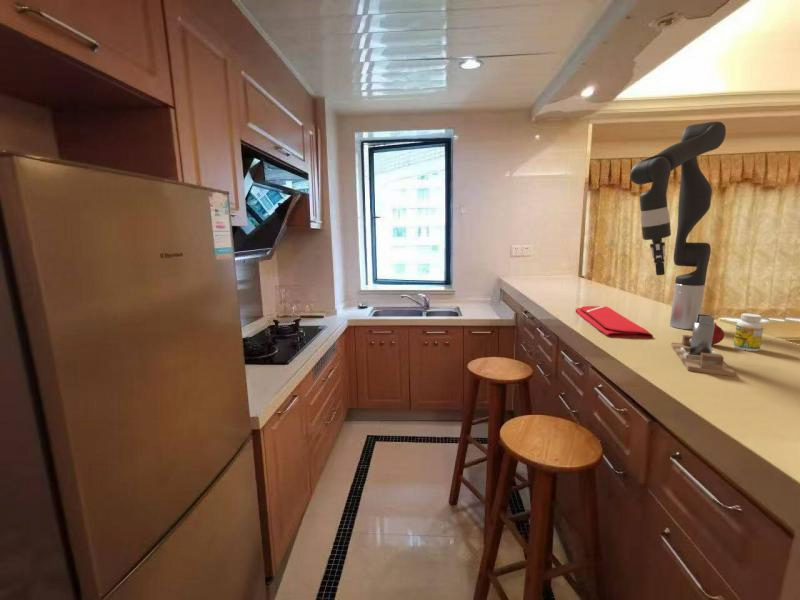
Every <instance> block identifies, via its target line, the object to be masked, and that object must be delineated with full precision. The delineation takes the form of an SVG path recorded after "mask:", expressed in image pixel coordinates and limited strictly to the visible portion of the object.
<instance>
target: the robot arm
mask: <svg viewBox="0 0 800 600" xmlns="http://www.w3.org/2000/svg"><path fill="white" fill-rule="evenodd" d="M726 131H727V130H726V126H725V124H724V123H723V122H721V121H710V122H709V121H708V122H704V123H703V122H702V123H696V124H690V125H688V126H686V127H685V128H684V129H683V131H682V133H681V137H680V139H681V140H680V142H677V143H674V144H672V145H670V146H668V147H667V148H664V149H663V150H661V151H660V152H659V153H656V154H655V155H653V156H650V157H648V158H645V159H643V160H641V161H639V162H637V163H636V164H634V165H633V167H632V168H631V170H630V174H629V177H630V179H631V182H633V183H634V184H635V185H647V184H650V183H652V186H651V188H650V189H649V190H646V191H644V192H642V193H641V194H640V195H639V206H640V207H639V209H640V224H641V234H642V239H643V240H645V241H651V240H652V243H650V244H649V246H650V247H649V249H650V251H651V256H652V257H651V258H652V259H653V263H654V266H655V274H656V276H664V275H665V257H666V242H665V241H663V240H662V239H663V238H664V239H665V238H668V237H670V236H671V235H672V230H671V220H670V213H669V209H668V201H667V200H668V198H667V191H668V186H669V185H668V184H669V180H670V176H671V171H673V170H675V169H676V168H678V167H680V168H681V169H680V183H679V185H680V187H679V194H678V196H679V197H678V209H677V212H678V213H677V230H676V235H675V243H674V248H673V249H674V250H673V251H674V252H673V263H674V265H676V266H678V267H692V268H696V269H695V270H693V271H692V272H691V271H690V272H688V273H684V274H680V275H677V276H676V277H675V282H674V289H673V290H674V291H673V297H672V298H673V299H672V304H671V305H672V306H671V314H670V319H669V326H670V327H673V328H676V329H681V330H682V329H683V330H693V327H694V322H696V320H697V314H702V308H703V304H704V303H703V302H704V293H705V288H706V287H705V286H706V279H707V272H708V267H709V263H710V257H711V254H712V253H711V250H712V248H711V245H710V243H709V242H693V241H692V242H687V240H688V236H689V234H690V233H691V232H692V230H693V229H694V227H695V226H696V225H697V224H698V223H699V222H700V220H701V219H702V218H703V217H705V215H706V214H707V213H708V211H709V210H710V208H711V203H712V192H713V190H712V186H711V183H709V180H708V179H707V177H706V176H705V175H704V173H703V172H702V170H701V169H700V166H699V163H698V157H699V156H700V155H703V154H705V153H708V152H712V151H714V150H716V149H719V148H720V146H721V145H722V144H723V142H724V141H725V138H726V133H727V132H726Z"/></svg>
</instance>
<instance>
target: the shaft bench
mask: <svg viewBox="0 0 800 600" xmlns="http://www.w3.org/2000/svg"><path fill="white" fill-rule="evenodd" d="M691 339H692V335H691V334H690V335H688V334H682V341H681V342H671V343H670V344H671V345H670V346H671V347H672V350H673V351H674V352H675V354H676V355H677V357H678V358H679V359H680V361H681V362H682V364H683V366H684V367H685V368H686V370H687V371H689V372H694V373H696V372H697V373H703V374H711V375H719V376H720V375H721V376H728V377H735V374H736V373H735V372H736V371H734V370H733V369H732V368H731V367H730V366H729V364H727V363H726V362H725V360H724V356H723V355H722V354H719V353H717V352H716V351H715V350H714V349H713V348H712V347H711V351H710V353H701V354H700V356H697V355H690V354H689V352H690V346H691Z"/></svg>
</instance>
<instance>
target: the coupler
mask: <svg viewBox="0 0 800 600" xmlns="http://www.w3.org/2000/svg"><path fill="white" fill-rule="evenodd" d="M714 322H715V317H714V316H713V315H712V314H706V313H705V314H704V313H701V314H697V320H696V322H694V327H693V329H692V335H691V336H692V339H691V346H690V352H689V354H690V355H697V356H700V354H701V353H710V351H711V348H712V346H713V345H712V339H713V334H714V328H715V324H713V323H714Z"/></svg>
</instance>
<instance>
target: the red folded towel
mask: <svg viewBox="0 0 800 600" xmlns="http://www.w3.org/2000/svg"><path fill="white" fill-rule="evenodd" d="M575 313H576V314H577V315H578V316H579V315H580V316H579V317H581V318H582V319H583V320H584V321H586V322H587V323H588V324H589V323H590V325H591V326H592V327H593V328H595V329H596V330H597V331H599V332H600V333H601V332H602V334H603V335H604V334H605V335H604V336H606V337H607V338H624V337H635V338H634V339H652V338H654V335H653V334H652V333H651V332H649V331H648V330H647V329H645V328H643V326H640V325H639V324H637V323H635V322H633V321H631V320H630V319H628V318H627V317H625V316H623V315H622V314H620V313H619V312H617V311H615V310H613V309H612V308H611V307H609V306H605V305H602V306H601V305H600V306H599V305H598V306H597V305H596V306H595V305H594V306H592V305H591V306H589V305H588V306H587V305H586V306H581V307H577V308H575ZM636 337H638V338H636Z"/></svg>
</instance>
